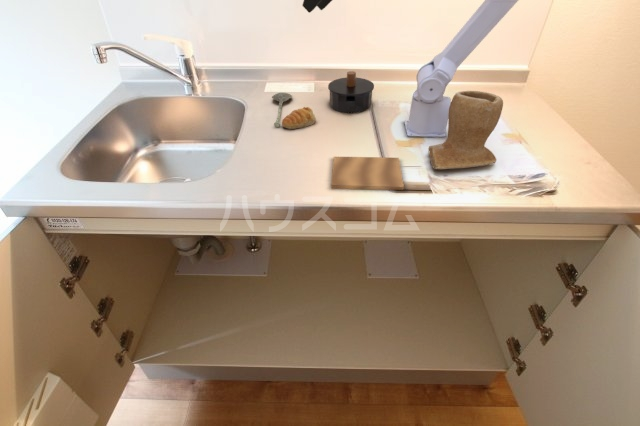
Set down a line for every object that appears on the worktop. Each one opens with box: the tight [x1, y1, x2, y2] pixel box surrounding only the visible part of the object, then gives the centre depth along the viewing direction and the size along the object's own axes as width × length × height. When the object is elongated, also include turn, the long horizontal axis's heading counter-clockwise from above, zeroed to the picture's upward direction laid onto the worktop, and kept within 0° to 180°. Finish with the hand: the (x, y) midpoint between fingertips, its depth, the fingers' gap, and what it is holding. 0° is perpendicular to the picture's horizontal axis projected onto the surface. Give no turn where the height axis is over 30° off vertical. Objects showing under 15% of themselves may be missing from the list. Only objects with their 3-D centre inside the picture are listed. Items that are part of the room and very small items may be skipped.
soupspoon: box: [271, 92, 293, 128], centre depth 96 cm, size 22×3×7 cm
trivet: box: [330, 156, 405, 191], centre depth 70 cm, size 15×11×1 cm
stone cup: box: [428, 90, 504, 170], centre depth 69 cm, size 15×12×15 cm
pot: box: [329, 90, 373, 114], centre depth 96 cm, size 13×18×5 cm
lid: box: [327, 70, 375, 96], centre depth 93 cm, size 14×14×5 cm
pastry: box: [281, 106, 317, 130], centre depth 88 cm, size 9×7×4 cm
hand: (312, 7), depth 71 cm, fingers open, 7 cm apart
